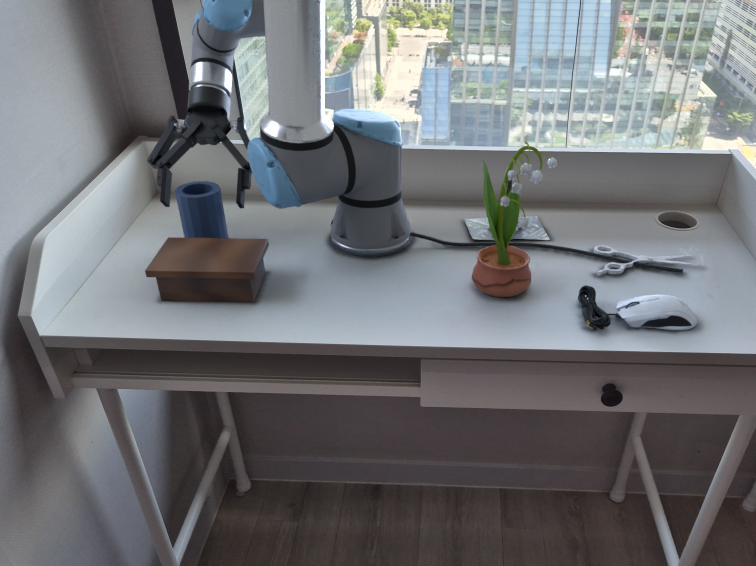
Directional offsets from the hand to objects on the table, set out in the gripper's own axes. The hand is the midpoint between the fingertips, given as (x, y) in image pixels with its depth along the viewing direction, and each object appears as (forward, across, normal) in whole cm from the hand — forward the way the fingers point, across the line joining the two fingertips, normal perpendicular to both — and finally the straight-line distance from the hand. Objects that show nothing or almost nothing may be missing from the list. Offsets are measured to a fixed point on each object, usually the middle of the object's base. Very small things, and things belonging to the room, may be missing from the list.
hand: (202, 205), depth 125 cm
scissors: (+9, -80, -2) cm, 81 cm away
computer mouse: (+22, -74, +12) cm, 78 cm away
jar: (+6, 0, -4) cm, 8 cm away
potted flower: (+16, -54, +5) cm, 57 cm away
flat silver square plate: (0, -56, -11) cm, 57 cm away
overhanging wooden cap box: (+17, -5, +6) cm, 19 cm away
